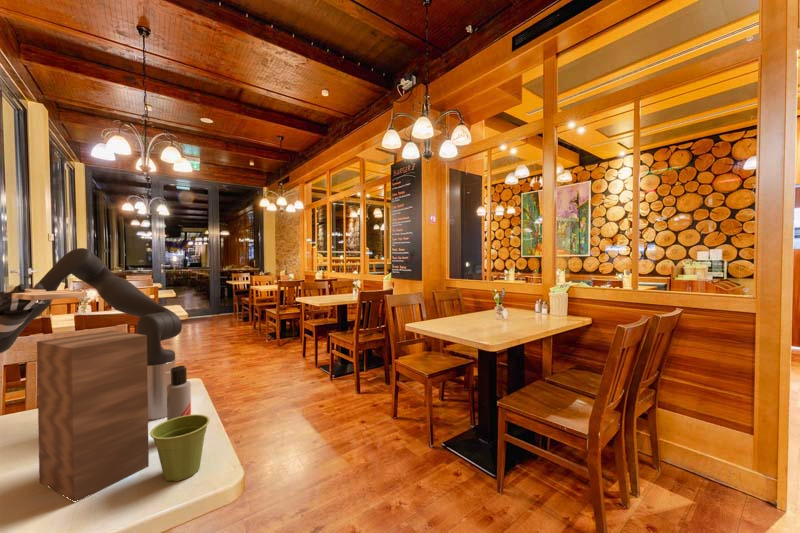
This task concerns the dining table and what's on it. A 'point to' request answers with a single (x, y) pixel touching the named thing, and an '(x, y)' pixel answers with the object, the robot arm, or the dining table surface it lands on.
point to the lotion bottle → (178, 394)
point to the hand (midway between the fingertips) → (31, 286)
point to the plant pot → (180, 445)
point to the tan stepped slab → (47, 294)
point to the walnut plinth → (92, 411)
